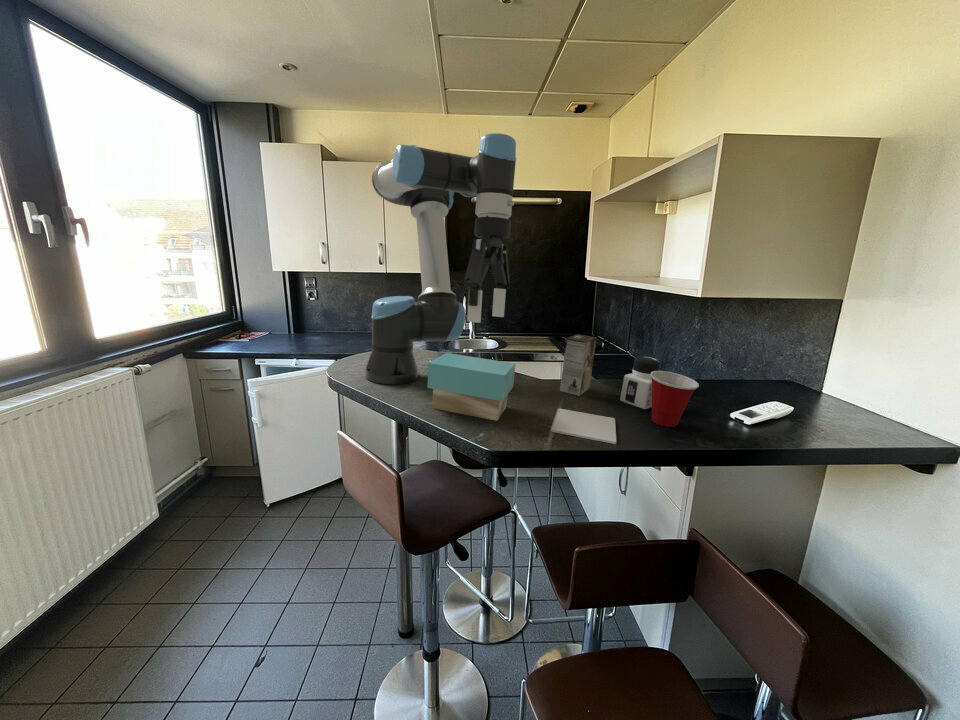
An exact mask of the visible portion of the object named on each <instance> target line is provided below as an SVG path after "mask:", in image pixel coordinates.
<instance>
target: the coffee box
mask: <svg viewBox="0 0 960 720" xmlns="http://www.w3.org/2000/svg"><path fill="white" fill-rule="evenodd" d="M597 337H598V336H597ZM597 337H596V336H589V335H585V334H574V335H571V336H569V337H567V338H566V340H565V341H566V342H565V347H564V355H563V363H562V372H561V378H560V379H561V380H560V386H559V391H560V392H561V393H566V394H571V395H575V396H579V397H580V396H581V395H583V394H584V393H585V392H586V391H588V390H589V389H590V386H591V379H592V373H593V372H592V371H593V365H594V359H595V353H596V352H595V351H596V346H597V339H598V338H597Z"/></svg>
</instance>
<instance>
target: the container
mask: <svg viewBox="0 0 960 720" xmlns="http://www.w3.org/2000/svg"><path fill="white" fill-rule="evenodd" d="M660 364H661V362H660V361H659V360H658V359H656V358H653V357H649V356H637V357H635V358H634V360H633V366H632V370H631V371H632V373H628V374H625V375H624V376H623V379H622V380H623V381H622V388H621V393H620V396H619V397H620V398H619V400H620V402H623V403H625V404H629V405H631V406H633V407H637V408H640V409H642V410H647V409H650V408H651V404H652V378H651V372H653V371H660Z"/></svg>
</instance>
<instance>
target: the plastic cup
mask: <svg viewBox="0 0 960 720" xmlns="http://www.w3.org/2000/svg"><path fill="white" fill-rule="evenodd" d="M651 378H652V404H651V407H650V408H651V422H652V421H653V422H654V423H653V422H652V423H653V424H655V423H656V424H655V425H657V424H658V425H657V426H659V425H661V426H660V427H662V426H666V427H665V428H667V427H674V426H676V425H677V426H678V424H679V423H680V420H681V417H682V415H683V414H684V411H685V410H686V407H687V405H688V403H689V401H690V399H691V397H692V395H693V393H694V392H695V390H696V389H698V388H700V387H699V386H700V385H699V383H698V382H697V381H696V380H695V379H693V378H691V377H688V376H686V375H683V374H680V373H676V372H671V371H666V370H659V371H653V372H651ZM677 426H676V427H677ZM674 428H675V427H674Z"/></svg>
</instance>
